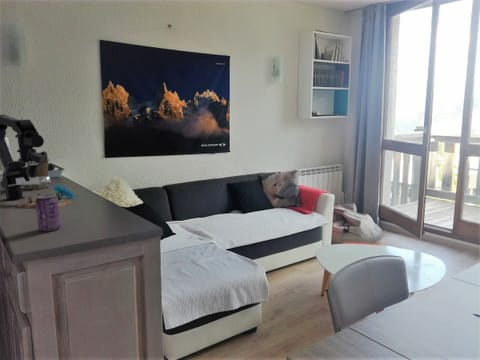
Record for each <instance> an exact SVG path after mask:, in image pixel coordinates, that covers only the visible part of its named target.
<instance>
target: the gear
mask: <svg viewBox="0 0 480 360" xmlns="http://www.w3.org/2000/svg"><path fill="white" fill-rule="evenodd" d="M53 189H54V191H55V195H56V198H57V199H58V196H57V194H60V196H61V199H63V197H66V198H67V199H69V198H70V199H73V198H75V194H74V193H73V192H72V191H71V190H69V189H68V190H67V188H66V187H62V185H56V184H55V185H54V186H53Z"/></svg>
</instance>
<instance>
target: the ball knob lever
mask: <svg viewBox="0 0 480 360" xmlns="http://www.w3.org/2000/svg"><path fill="white" fill-rule="evenodd" d="M16 184H17V185H32V184H48V185H50V184H51V176H49V175H48V176H46V177H29V181H26V180H25V179H24V178H23V177H20V178H16Z"/></svg>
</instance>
